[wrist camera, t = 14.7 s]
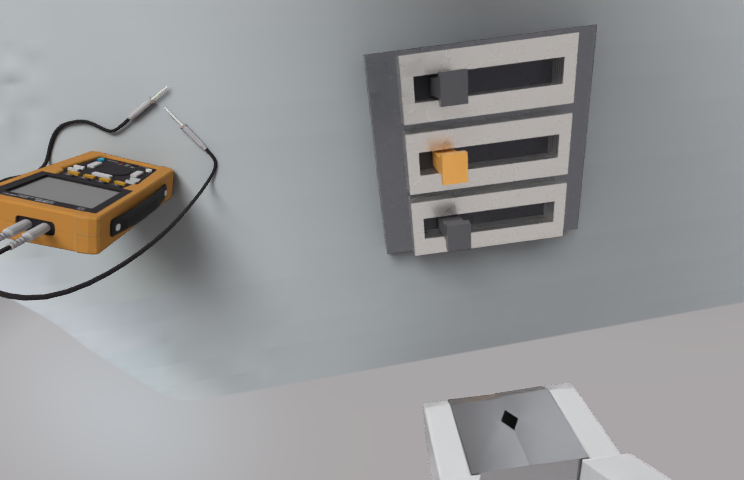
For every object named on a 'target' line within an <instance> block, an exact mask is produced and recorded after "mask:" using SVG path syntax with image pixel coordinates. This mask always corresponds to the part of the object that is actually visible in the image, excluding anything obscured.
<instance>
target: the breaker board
mask: <svg viewBox="0 0 744 480" xmlns="http://www.w3.org/2000/svg"><path fill="white" fill-rule="evenodd" d="M596 30H597V25H589V26H582V27H574V28H566V29H559V30H551V31H543V32H536V33H528V34H520V35H513V36H505V37H498V38H490V39H482V40H475V41H467V42H459V43H452V44H444V45H436V46H429V47H421V48H413V49H406V50H398V51H391V52H383V53H375V54H368V55H363V56H364V64H365V73H366V81H367V90H368V99H369V107H370V116H371V124H372V133H373V142H374V150H375V159H376V167H377V176H378V184H379V193H380V202H381V210H382V219H383V227H384V236H385V245H386V250H387V254H391V253H398V252H405V251H414V253H415V256H418V255H425V254H433V253H440V252H448V251H447V249H446V240H445V238H444V237H443V235H442V233H441V231H440V230H439V228H438V218H437V217H441V216H449V215H456V214H459V215H460V217H461V218H462V219H463V221H464V220H469V222H470V223H471V248H477V247H485V246H492V245H500V244H507V243H515V242H522V241H529V240H537V239H544V238H552V237H559V236H563V230H569V229H577V227H578V217H579V206H580V196H581V186H582V175H583V165H584V155H585V144H586V134H587V123H588V113H589V103H590V92H591V82H592V72H593V61H594V51H595V40H596ZM464 68H466V69H468V104H461V105H454V106H446V107H440V106H439V98H436V97H434V96H431V95H430V77H436V76H438V72H441V71H449V70H456V69H464ZM451 148H454V149H455V150H456V151H463V150H465V151H467V152H468V182H465V183H458V184H450V185H443V184H442V183H441V175H440V173H439V172H438V171H437V170H436V169H435V167H434V166H433V158H432V151H436V150H444V149H451Z"/></svg>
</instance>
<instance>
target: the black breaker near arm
mask: <svg viewBox="0 0 744 480" xmlns="http://www.w3.org/2000/svg"><path fill="white" fill-rule="evenodd" d="M430 95H431V96H434V97H436V98H439V106H440V107H446V106H454V105H461V104H468V69H466V68H464V69H456V70H449V71H441V72H438V76H436V77H430Z"/></svg>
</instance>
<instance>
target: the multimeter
mask: <svg viewBox="0 0 744 480" xmlns="http://www.w3.org/2000/svg"><path fill="white" fill-rule="evenodd" d="M167 88H168V86H167V87H165V88H163V89H162V90H161V91H160V92H159V93H157V94H156V95H155V96H154V97H153V98H151V97H148V99H147V100H146V101H145V102H144V103H142V104H141V105H140V106H139V107H138V108H137V109H135V110H134V111H133V112H132V113H131V114H130V115H129V116H128V118H127V119H126V120H125V121H124V122H123V123H122V124H120V125H119V126H118V127H117V128H115V129H113V130H109V129H106V128H104V127H102V126H100V125H98V124H96V123H93V122H90V121H87V120H74V121H69V122H66V123H63V124H61V125H60V126H58V127H57V128H56V130H55V131H54V133H53V134H52V137H51V139H50V142H49V146H48V150H47V155H46V158H45V162H44V163H43V165H42V166H41V167H40V168H39V169H37V170H35V171H32V172H29V173H26V174H23V175H18V176H13V177H9V178H5V179H2V180H0V241H1V240H4V239H5V238H8V239H13V240H14V241H12V242H10V243H8V244H7V245H6V247H4V248H2V249H0V254H2V253H4V252H6V251H8V250H12V249H14V248H16V247H18V246H19V245H21V244H23V243H25V242H29V243H34V244H40V245H45V246H50V247H55V248H60V249H66V250H71V251H76V252H78V253H85V254H99V253H100V252H102V251H103V250H104V249H105V248H107V247H108V246H109V245H111V244H112V243H113V242H114V241H116V240H117V239H118V238H120V237H121V236H122V235H123V234H125V233H126V232H127V231H129V230H130V229H131V228H133V227H134V226H135V225H136V224H138V223H139V222H140V221H142V220H143V219H144V218H145V217H147V216H148V215H149V214H150V213H152V212H153V211H154V210H156V209H157V208H158V207H159V206H160V205H161V204H163V203H164V202H165V201H166V200H168V199H169V198H171V197H172V188H173V175H174V172H173V170H172V169H170V168H166V167H162V166H161V167H160V166H156V165H151V164H147V163H143V162H138V161H134V160H130V159H125V158H121V157H116V156H112V155H108V154H106V153H101V152H95V151H91V152H88V153H85V154H82V155H80V156H76V157H73V158H71V159H67V160H64V161H61V162H58V163H55V164H52V165H49V166H46V165H47V163H48V161H49V158H50V154H51V149H52V145H53V142H54V139H55V137H56V135H57V133H58V132H59V130H60V129H61V128H63V127H64V126H66V125H69V124H73V123H87V124H91V125H93V126H95V127H97V128H99V129H101V130H103V131H106V132H110V133H111V132H116V131H118V130H119V129H120V128H122V127H123V126H124V125H126V124H127V123H128V122H129V121H130V120H132V119H134V118H136V117H137V116H138V115H139V114H141V113H142V112H143V111H144V110H145V109H147V108H148V107H149V106H150V105H151V104H153V103H155V101H154V99H156V98H157V97H158V96H159V95H160V94H162V93H163V92H164V91H165V90H166V89H167ZM164 108H165V107H164ZM165 109H166V108H165ZM166 111H167V112H168V113H169V114H170V115H171V116H172V117H173V118H174V119H175V120H176V121H177V122H178V123H179V124H180V125H181V127H180V128H181V129H183V130H184V131H185V132H186V133H187V134H188V135H189V136H190V137H191V138H192V139H193V140H194V141H195V142H196V143H197V144H198V145H199V146H200V147H201V148H202V149H203V150H205V151H206V152H207V153H208V154H209V155H210V156H211V157H212V159H213V161H214V168H213V171H212V173H211V175H210V176H209V178H208V180H207V181H206V183H205V184H204V186H203V187H202V188H201V190H200V191H199V192H198V194H197V195H196V196H195V197H194V199H193V200H192V201H191V202H190V204H189V205H188V206H187V207H186V208H185V209H184V210H183V212H182V213H181V214H180V215H179V216H178V217H177V218H176V219H175V220H174V221H173V222H172V223H171V224H170V225H169V226H168V227H167V228H166V229H165V230H164V231H163V232H162V233H161V234H159V235H158V236H157V237H156V238H155V239H154V240H152V241H151V242H150V243H148V244H147V245H146V246H145V247H143V248H142V249H141V250H139V251H138V252H137V253H135V254H134V255H132V256H131V257H129V258H128V259H126V260H125V261H123V262H122V263H120V264H118V265H117V266H115V267H113V268H112V269H110V270H108V271H107V272H105V273H103V274H101V275H99V276H97V277H95V278H93V279H91V280H89V281H87V282H84V283H82V284H79V285H77V286H74V287H71V288H69V289H66V290H62V291H58V292H53V293H49V294H44V295H19V294H11V293H7V292H3V291H0V296H1V297H5V298H9V299H17V300H44V299H50V298H54V297H58V296H62V295H66V294H69V293H72V292H74V291H77V290H79V289H82V288H85V287H87V286H90V285H92V284H94V283H95V282H97V281H99V280H101V279H103V278H105V277H107V276H109V275H111V274H112V273H114V272H116V271H117V270H119V269H120V268H122V267H124V266H125V265H127V264H128V263H130V262H131V261H133V260H134V259H135V258H137V257H138V256H140V255H141V254H142V253H144V252H145V251H146V250H148V249H149V248H150V247H151V246H153V245H154V244H155V243H156V242H157V241H159V240H160V239H161V238H162V237H163V236H164V235H165V234H166V233H167V232H168V231H170V230H171V229H172V228H173V227H174V226H175V225H176V223H177V222H178V221H179V220H180V219H181V218H182V217H183V216H184V214H185V213H186V212H187V211H188V210H189V209H190V207H191V206H192V205H193V204H194V202H195V201H196V200H197V199H198V197H199V196H200V195H201V193H202V192H203V191H204V189H205V188H206V186H207V185H208V183H209V182H210V180H211V178H212V177H213V175H214V173H215V171H216V168H217V161H216V159H215V157H214V155H213V154H212V153H211V152H210V151H209V150H208V149H207V147H206V146H205V144H204V143H203V142H202V141H201V140H200V139H199V138H198V137H197V136H196V135H195V134H194V133H193V132H192V131H191V130H190V129H189V128H188V127H187V126H186V124H185V123H184V124H182V123H181V122H180V121H179V120H178V119H177V118H176V117H175V116H174V115H173V114H172V113H171V112H170V111H169V110H168V109H166Z"/></svg>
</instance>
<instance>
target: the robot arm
mask: <svg viewBox="0 0 744 480" xmlns="http://www.w3.org/2000/svg"><path fill="white" fill-rule="evenodd" d="M423 414H424V424H425V435H426V444H427V451H428V457H429V464H430V470H431V475H432V480H672V479H671V478H669V477H668V476H666V475H664V474H663V473H661V472H659V471H658V470H656V469H655V468H653V467H651V466H650V465H648V464H646V463H645V462H643V461H641V460H640V459H638V458H637V457H635V456H634V455H632V454H630V453H625V454H621V453H620V451H619V450H618V449H617V447H616V446H615V444H614V443H613V442H612V440H611V439H610V437H609V436H608V435H607V433H606V432H605V430H604V429H603V427H602V426H601V424H600V423H599V422H598V420H597V419H596V417H595V416H594V414H593V413H592V412H591V410H590V409H589V408H588V406H587V404H586V403H585V402H584V400H583V399H582V398H581V396H580V394H579V393H578V392H577V390H576V389H575V388H574V386H573V385H571V384H570V383H562V384H555V385H548V386H544V387H541V386H540V387H533V388H527V389H521V390H514V391H508V392H502V393H495V394H492V395H484V396H475V397H468V398H458V399H450V400H448V401H446V400H445V401H436V402H428V403H423Z"/></svg>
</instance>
